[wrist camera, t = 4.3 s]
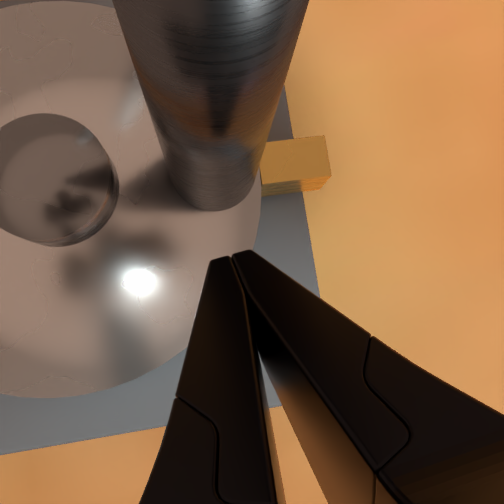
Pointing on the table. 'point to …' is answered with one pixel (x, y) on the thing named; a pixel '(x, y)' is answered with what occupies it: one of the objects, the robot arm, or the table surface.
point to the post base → (167, 375)
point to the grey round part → (132, 175)
